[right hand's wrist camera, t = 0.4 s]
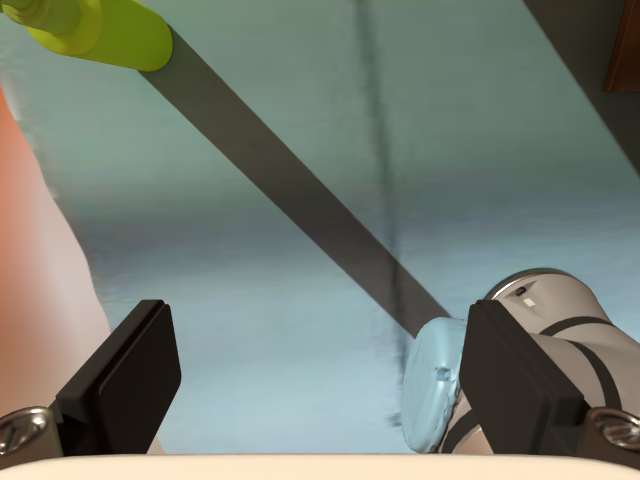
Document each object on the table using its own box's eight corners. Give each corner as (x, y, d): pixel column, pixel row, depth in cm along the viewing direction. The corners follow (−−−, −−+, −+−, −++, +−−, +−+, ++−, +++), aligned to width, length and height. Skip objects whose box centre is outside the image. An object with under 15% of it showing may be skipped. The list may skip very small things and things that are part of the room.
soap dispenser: (176, 3, 37) (24, -104, 18) (170, 77, 39) (32, 50, 20) (116, -12, 36) (-103, -138, 17) (114, 64, 39) (-81, 24, 20)
